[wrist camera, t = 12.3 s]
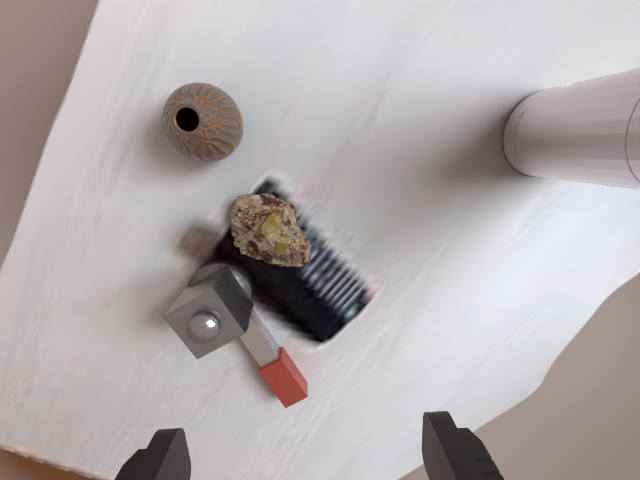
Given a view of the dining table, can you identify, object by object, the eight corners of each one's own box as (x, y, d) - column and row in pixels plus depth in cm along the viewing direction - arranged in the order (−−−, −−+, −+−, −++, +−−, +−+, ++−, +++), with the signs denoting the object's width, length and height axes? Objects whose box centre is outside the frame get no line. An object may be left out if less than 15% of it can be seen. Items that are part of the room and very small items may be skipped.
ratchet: (233, 247, 38) (221, 266, 32) (319, 376, 43) (323, 412, 37) (182, 275, 38) (161, 299, 32) (274, 399, 44) (270, 439, 38)
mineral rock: (205, 237, 35) (247, 185, 32) (219, 219, 39) (258, 171, 36) (282, 293, 38) (329, 251, 35) (289, 272, 42) (331, 232, 38)
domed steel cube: (226, 265, 35) (210, 293, 28) (253, 304, 37) (243, 339, 30) (184, 288, 36) (158, 321, 29) (212, 326, 37) (194, 366, 30)
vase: (227, 172, 35) (205, 181, 27) (168, 135, 34) (125, 132, 26) (260, 116, 34) (247, 106, 26) (200, 75, 33) (166, 51, 24)
